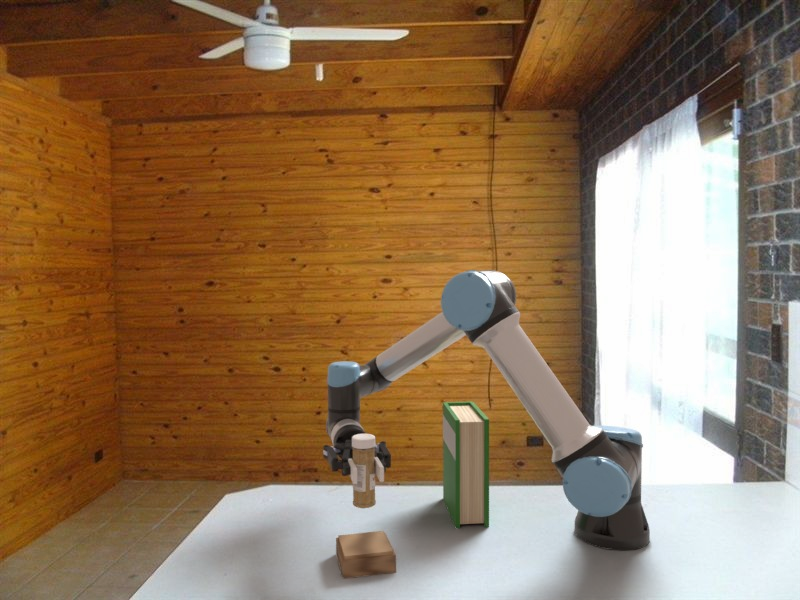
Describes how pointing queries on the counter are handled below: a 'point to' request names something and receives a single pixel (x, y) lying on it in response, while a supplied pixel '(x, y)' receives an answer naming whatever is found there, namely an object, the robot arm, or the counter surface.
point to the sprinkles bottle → (364, 470)
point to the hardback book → (466, 463)
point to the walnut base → (365, 554)
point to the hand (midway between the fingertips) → (368, 475)
